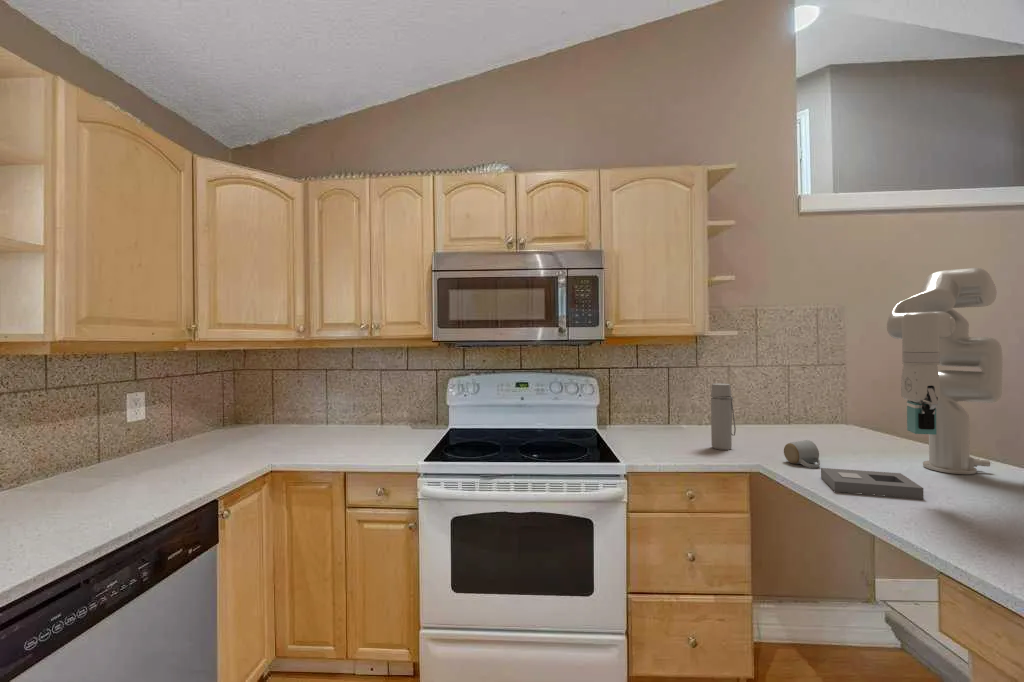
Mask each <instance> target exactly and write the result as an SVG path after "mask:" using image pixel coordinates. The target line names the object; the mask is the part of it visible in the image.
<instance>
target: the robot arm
mask: <svg viewBox="0 0 1024 682" xmlns="http://www.w3.org/2000/svg"><path fill="white" fill-rule="evenodd" d="M996 287H997V286H996V284H995V282H994V280H993V278H992V276H991V275H990V272H988V271H987V270H985V269H983V268H982V267H981V268H980V267H968V268H967V267H966V268H957V269H956V268H955V269H954V268H953V269H945V270H943V269H942V270H940V271H939V270H938V271H934V272H933V273H930V274H928V276H927V277H926V278H925V280H924V282H923V284H922V286H921V289H920V291H919V293H917V294H915V295H912V296H910V297H908V298H906V299H903V300H901V301H899V302H898V303H896V304H895V305H894V307H893V308H892V309H891V311H890V314H889V316H888V319H887V322H886V331H887V333H888V335H889V336H890V337H891V338H893V339H897V340H901V345H902V346H901V351H902V352H901V354H902V356H901V357H902V358H901V359H902V360H901V361H902V362H901V363H902V371H901V380H900V381H901V385H900V397H902V398H903V400H906V401H913V402H919V407H920V413H921V414H918V425H919V429H932V430H933V429H934V428H935V424H934V414H935V409H936V407H937V409H936V435H934V434H928V460H925V461H923V462H922V466H923V467H924V468H926V469H929V470H930V471H936V472H941V473H946V474H952V475H954V474H955V475H975V474H977V472H978V471H977V467H978V466H981V467H989V468H990V466H991V461H990V460H989V459H988V460H987V459H979V458H974V457H972V456H971V454H970V451H971V449H970V439H971V438H970V416H969V414H968V411H967V410H966V409H965V408H964V407H963V406H962V405H961V403H959V402H968V403H982V404H983V403H984V404H985V403H987V404H993V403H997V402H998V401H999V400H1001V397H1002V394H1003V348H1002V345H1001V344H1000V341H998V340H997V339H996V338H993V337H988V336H987V337H986V336H969V333H970V332H969V327H970V324H969V321H968V320H967V319H966V317H964V315H962V313H960V312H958V311H957V310H956V308H957V309H960V308H961V309H962V308H982V307H989V306H990V305H992V304H994V302H995V300H996V298H997V288H996ZM938 366H941V367H951V368H954V367H955V368H977V369H979V370H980V371H976V370H974V371H972V370H970V371H969V370H949V369H948V370H947V369H944V370H943V369H940V370H939V368H938ZM923 401H927V402H923ZM924 404H928V405H926V406H925V407H924Z"/></svg>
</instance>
